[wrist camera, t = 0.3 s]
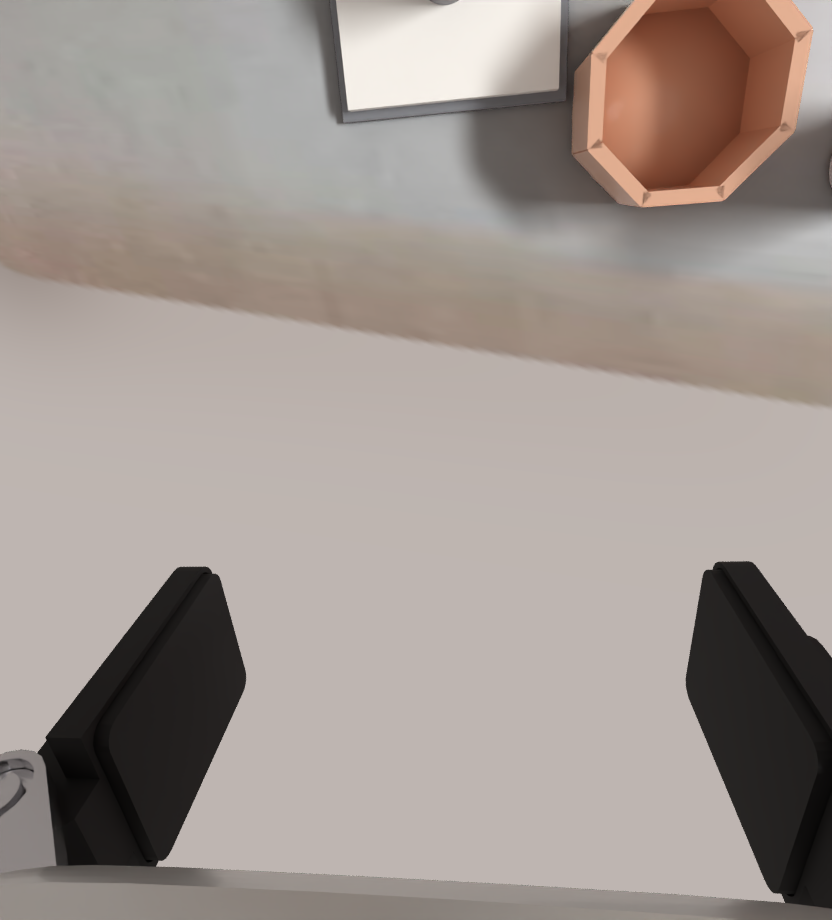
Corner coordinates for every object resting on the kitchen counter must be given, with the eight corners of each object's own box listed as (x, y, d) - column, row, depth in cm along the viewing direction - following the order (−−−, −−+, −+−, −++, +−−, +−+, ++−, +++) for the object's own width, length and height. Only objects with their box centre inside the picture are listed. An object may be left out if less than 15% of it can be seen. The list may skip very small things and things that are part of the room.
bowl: (575, 9, 30) (594, -24, 25) (768, -13, 29) (828, -53, 24) (568, 207, 34) (584, 212, 30) (737, 194, 33) (783, 196, 28)
